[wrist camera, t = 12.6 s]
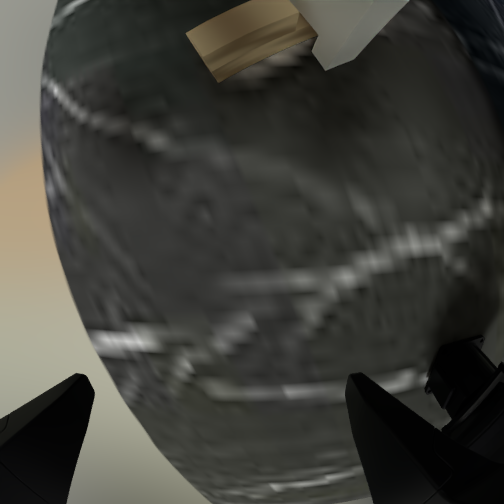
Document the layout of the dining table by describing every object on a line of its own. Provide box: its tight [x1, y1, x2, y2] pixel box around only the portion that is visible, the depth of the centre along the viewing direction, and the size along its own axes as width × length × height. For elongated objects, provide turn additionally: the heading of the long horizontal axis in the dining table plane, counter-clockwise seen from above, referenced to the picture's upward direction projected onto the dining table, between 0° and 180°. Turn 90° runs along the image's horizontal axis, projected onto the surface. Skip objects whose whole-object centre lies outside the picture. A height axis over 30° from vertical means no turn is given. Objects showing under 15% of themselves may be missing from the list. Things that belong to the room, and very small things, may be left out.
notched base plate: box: [185, 0, 318, 83], centre depth 12 cm, size 16×2×5 cm, turn 121°
